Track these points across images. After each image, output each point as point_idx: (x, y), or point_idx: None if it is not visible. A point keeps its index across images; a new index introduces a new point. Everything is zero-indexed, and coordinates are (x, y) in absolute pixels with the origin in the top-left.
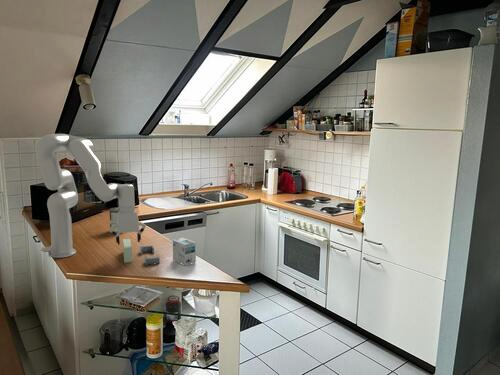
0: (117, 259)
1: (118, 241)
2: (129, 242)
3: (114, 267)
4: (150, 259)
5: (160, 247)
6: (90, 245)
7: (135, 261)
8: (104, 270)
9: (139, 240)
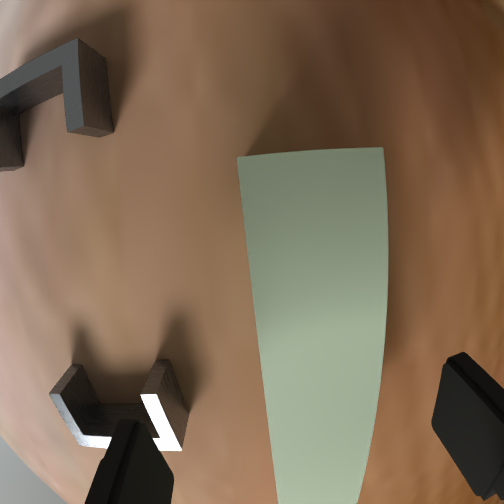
0: (388, 260)
1: (485, 377)
2: (289, 458)
3: (396, 47)
4: (40, 60)
5: (70, 453)
6: None
7: (205, 170)
8: (450, 18)
9: (116, 436)
